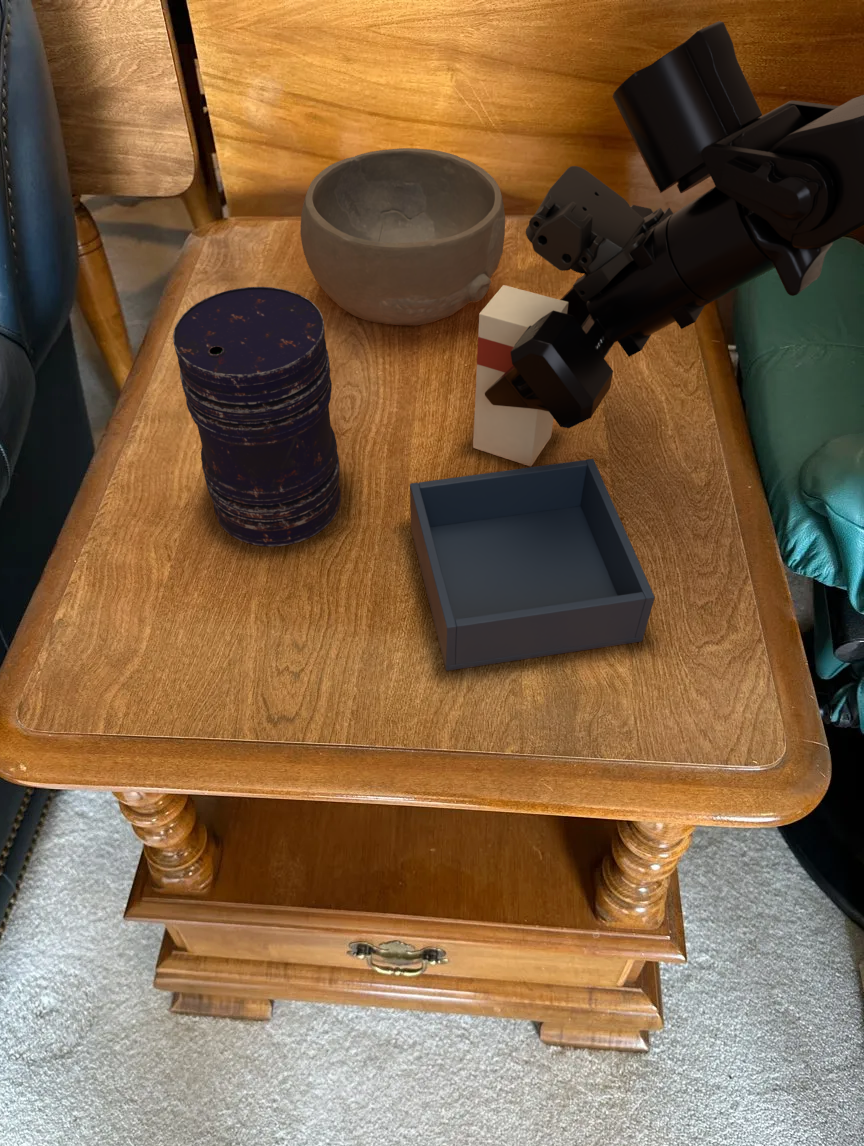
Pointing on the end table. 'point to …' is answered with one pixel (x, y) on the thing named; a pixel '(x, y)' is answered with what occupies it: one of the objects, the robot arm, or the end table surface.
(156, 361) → the end table surface
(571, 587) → the box
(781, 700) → the end table surface
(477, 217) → the bowl
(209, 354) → the dark blue cylinder
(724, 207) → the robot arm
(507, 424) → the plate
